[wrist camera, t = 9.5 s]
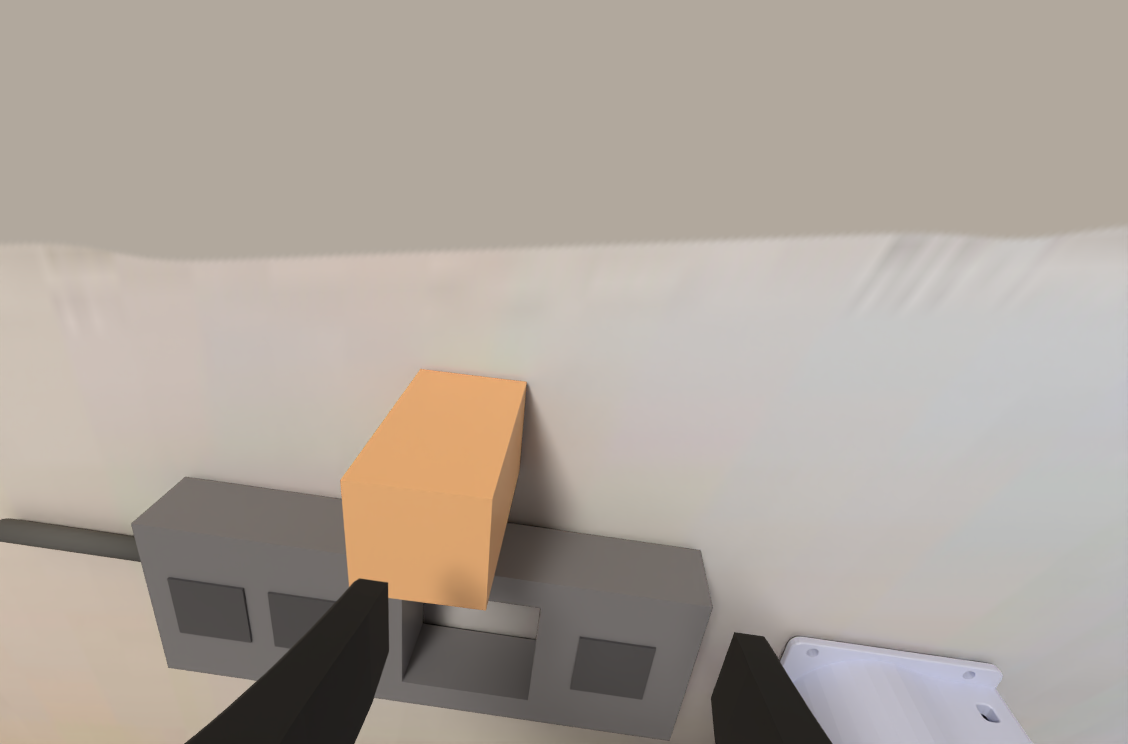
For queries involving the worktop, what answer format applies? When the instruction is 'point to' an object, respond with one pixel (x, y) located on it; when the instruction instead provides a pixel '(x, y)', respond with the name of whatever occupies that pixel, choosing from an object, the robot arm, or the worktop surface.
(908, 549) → the worktop surface
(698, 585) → the power strip
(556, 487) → the worktop surface
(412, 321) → the worktop surface
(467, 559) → the orange rectangular block
